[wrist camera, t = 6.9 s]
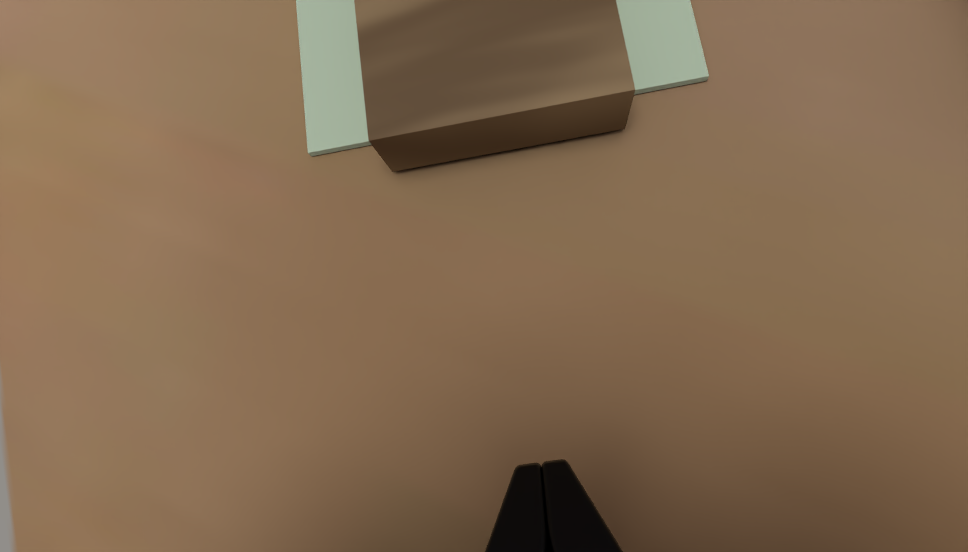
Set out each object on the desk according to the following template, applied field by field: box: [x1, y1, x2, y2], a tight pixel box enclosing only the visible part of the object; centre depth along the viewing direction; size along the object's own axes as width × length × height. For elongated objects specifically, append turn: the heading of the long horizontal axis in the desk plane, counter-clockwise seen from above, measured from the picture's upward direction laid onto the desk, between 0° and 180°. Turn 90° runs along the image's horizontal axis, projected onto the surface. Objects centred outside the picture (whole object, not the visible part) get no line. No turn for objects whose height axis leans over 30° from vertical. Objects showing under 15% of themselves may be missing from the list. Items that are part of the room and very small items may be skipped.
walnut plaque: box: [354, 0, 635, 172], centre depth 18 cm, size 2×8×9 cm
